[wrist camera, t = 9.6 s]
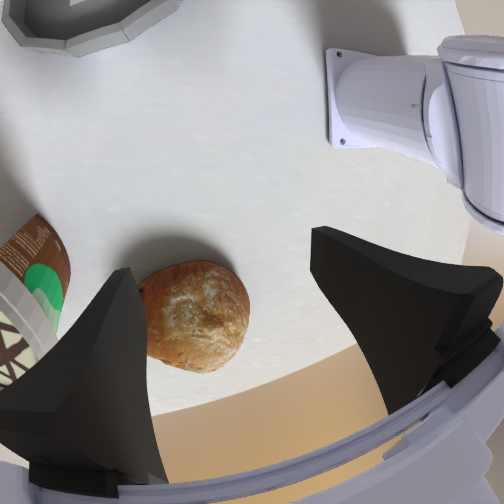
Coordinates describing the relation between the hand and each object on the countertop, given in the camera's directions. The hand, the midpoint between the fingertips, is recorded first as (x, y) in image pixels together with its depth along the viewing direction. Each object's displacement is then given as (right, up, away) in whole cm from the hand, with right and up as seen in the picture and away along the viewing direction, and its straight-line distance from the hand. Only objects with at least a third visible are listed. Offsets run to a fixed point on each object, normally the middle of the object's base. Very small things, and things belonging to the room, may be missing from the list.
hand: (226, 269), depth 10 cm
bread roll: (-5, -4, +13) cm, 15 cm away
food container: (-16, -1, +8) cm, 18 cm away
